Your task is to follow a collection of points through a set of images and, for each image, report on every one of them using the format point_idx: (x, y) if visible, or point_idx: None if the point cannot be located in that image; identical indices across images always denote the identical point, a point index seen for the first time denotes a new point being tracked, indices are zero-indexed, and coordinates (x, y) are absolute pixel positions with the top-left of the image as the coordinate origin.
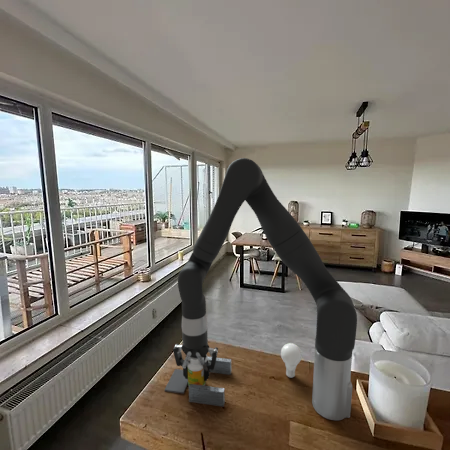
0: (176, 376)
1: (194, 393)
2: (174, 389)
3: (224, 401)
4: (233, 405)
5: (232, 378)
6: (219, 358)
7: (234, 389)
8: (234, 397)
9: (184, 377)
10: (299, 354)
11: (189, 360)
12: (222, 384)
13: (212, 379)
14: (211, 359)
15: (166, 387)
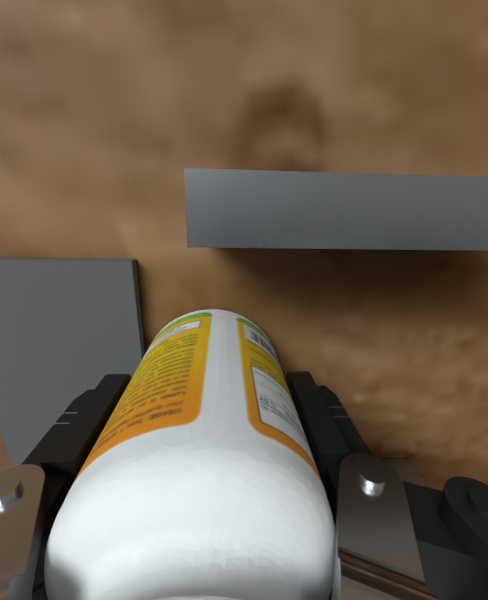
0: (21, 346)
1: None
2: None
3: (412, 465)
4: (454, 464)
5: (473, 273)
6: (481, 192)
7: (474, 367)
8: (465, 420)
9: (95, 346)
10: None
11: (50, 595)
12: (396, 341)
13: (320, 308)
14: (359, 233)
15: (13, 450)
